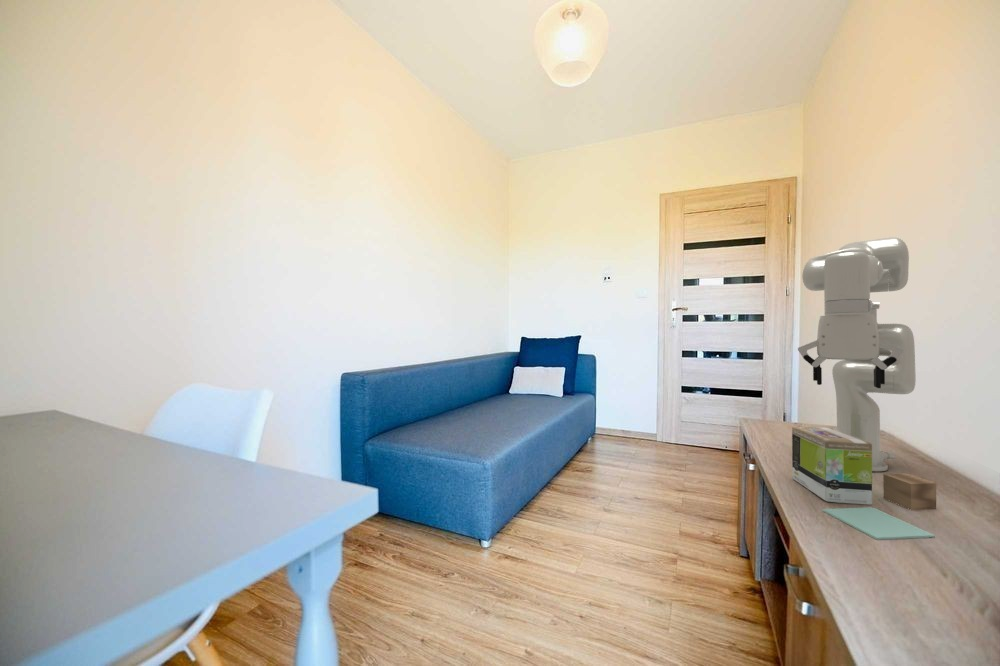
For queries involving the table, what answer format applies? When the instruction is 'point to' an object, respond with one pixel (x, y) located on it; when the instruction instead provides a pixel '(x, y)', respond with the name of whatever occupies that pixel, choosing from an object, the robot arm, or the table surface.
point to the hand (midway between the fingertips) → (847, 385)
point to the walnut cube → (910, 491)
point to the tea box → (832, 464)
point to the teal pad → (877, 523)
